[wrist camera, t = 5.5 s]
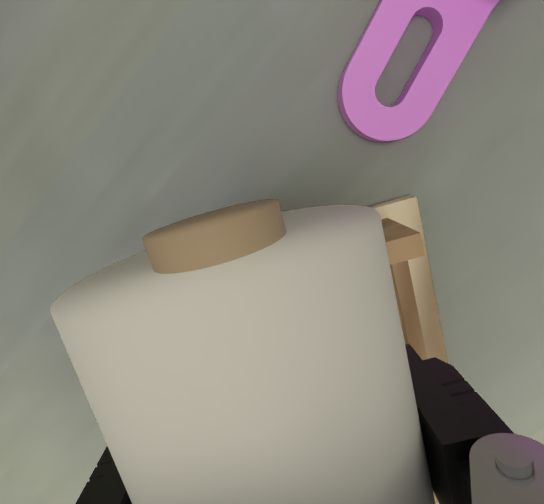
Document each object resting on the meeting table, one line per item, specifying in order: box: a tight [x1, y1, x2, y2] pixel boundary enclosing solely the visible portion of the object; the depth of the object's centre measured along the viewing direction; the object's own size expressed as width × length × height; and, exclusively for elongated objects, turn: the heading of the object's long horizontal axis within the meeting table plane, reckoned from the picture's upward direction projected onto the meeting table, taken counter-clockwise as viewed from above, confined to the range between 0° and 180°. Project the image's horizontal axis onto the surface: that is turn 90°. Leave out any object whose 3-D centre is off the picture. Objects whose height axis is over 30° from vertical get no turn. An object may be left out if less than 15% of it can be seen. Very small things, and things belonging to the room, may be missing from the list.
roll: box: [50, 199, 435, 504], centre depth 8 cm, size 11×6×6 cm, turn 15°
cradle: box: [369, 195, 448, 503], centre depth 24 cm, size 12×18×6 cm, turn 16°
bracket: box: [338, 0, 500, 142], centre depth 19 cm, size 13×6×7 cm, turn 152°
